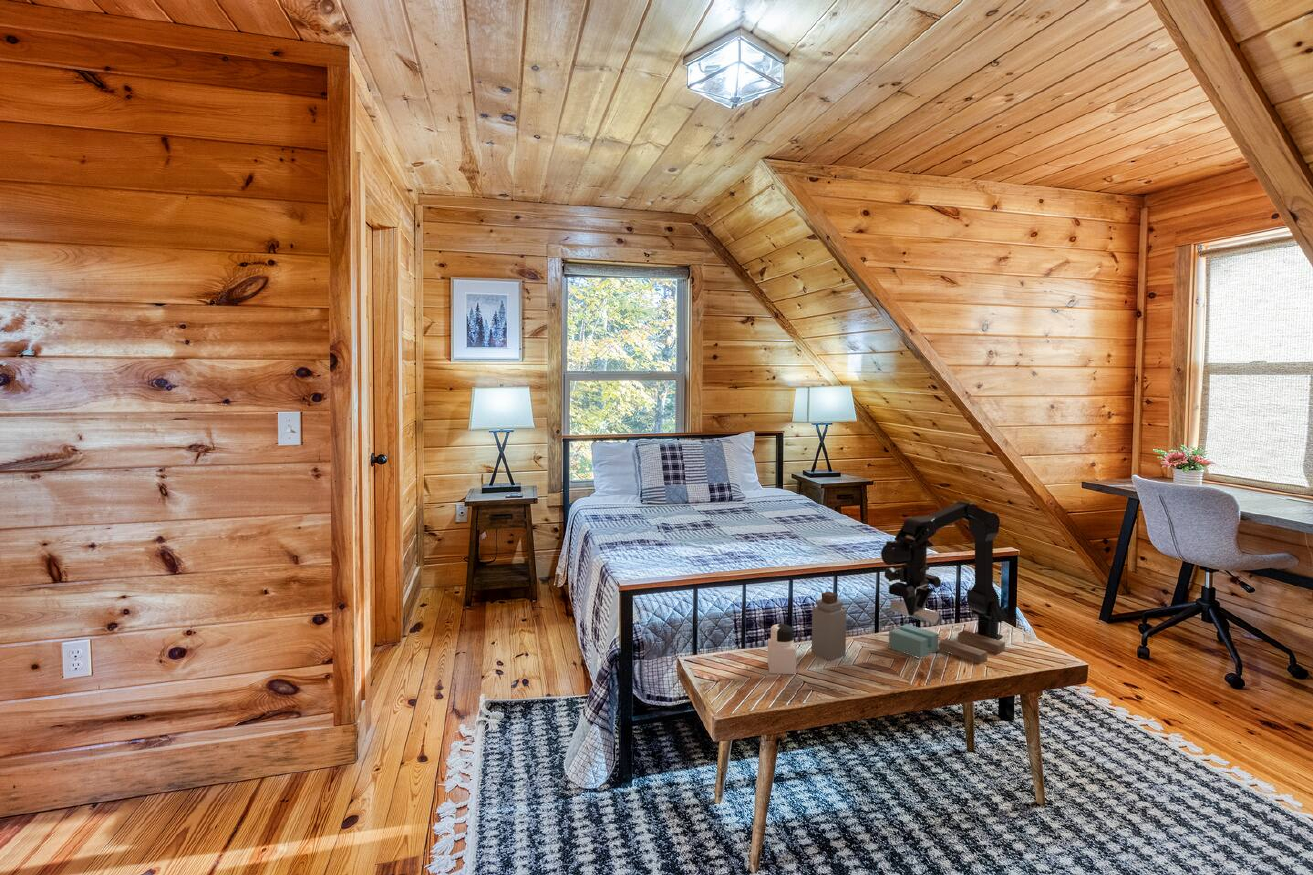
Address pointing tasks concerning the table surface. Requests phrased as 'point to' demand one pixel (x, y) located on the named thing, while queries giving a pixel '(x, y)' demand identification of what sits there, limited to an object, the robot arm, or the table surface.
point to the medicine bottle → (781, 650)
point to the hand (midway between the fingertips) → (914, 613)
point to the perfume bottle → (829, 628)
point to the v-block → (913, 640)
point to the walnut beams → (970, 651)
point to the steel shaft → (916, 612)
